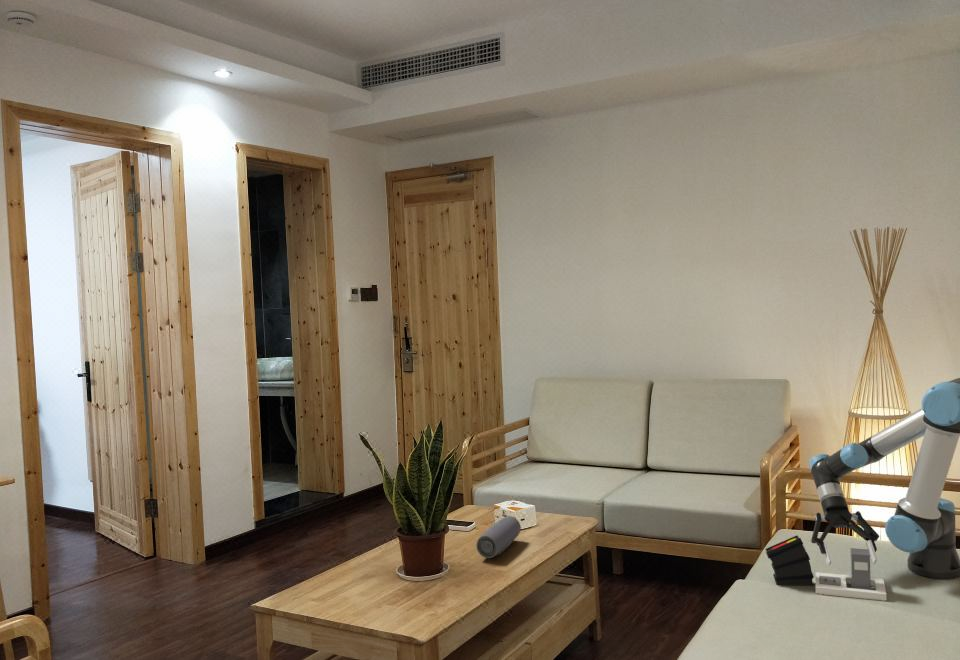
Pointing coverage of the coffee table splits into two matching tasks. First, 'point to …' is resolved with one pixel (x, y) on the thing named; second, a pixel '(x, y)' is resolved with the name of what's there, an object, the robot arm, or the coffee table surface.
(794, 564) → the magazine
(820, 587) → the white flat rectangular frame
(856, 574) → the grey tall block
